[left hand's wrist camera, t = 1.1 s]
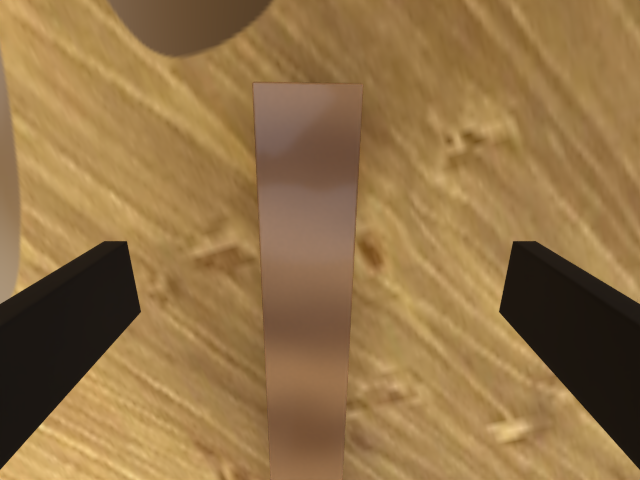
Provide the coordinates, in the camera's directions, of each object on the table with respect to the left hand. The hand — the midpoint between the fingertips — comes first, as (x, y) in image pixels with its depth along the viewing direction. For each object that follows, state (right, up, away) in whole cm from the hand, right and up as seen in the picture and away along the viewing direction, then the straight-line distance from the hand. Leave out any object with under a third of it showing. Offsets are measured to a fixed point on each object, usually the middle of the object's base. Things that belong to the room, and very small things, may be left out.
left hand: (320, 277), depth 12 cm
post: (-1, -19, +22) cm, 29 cm away
